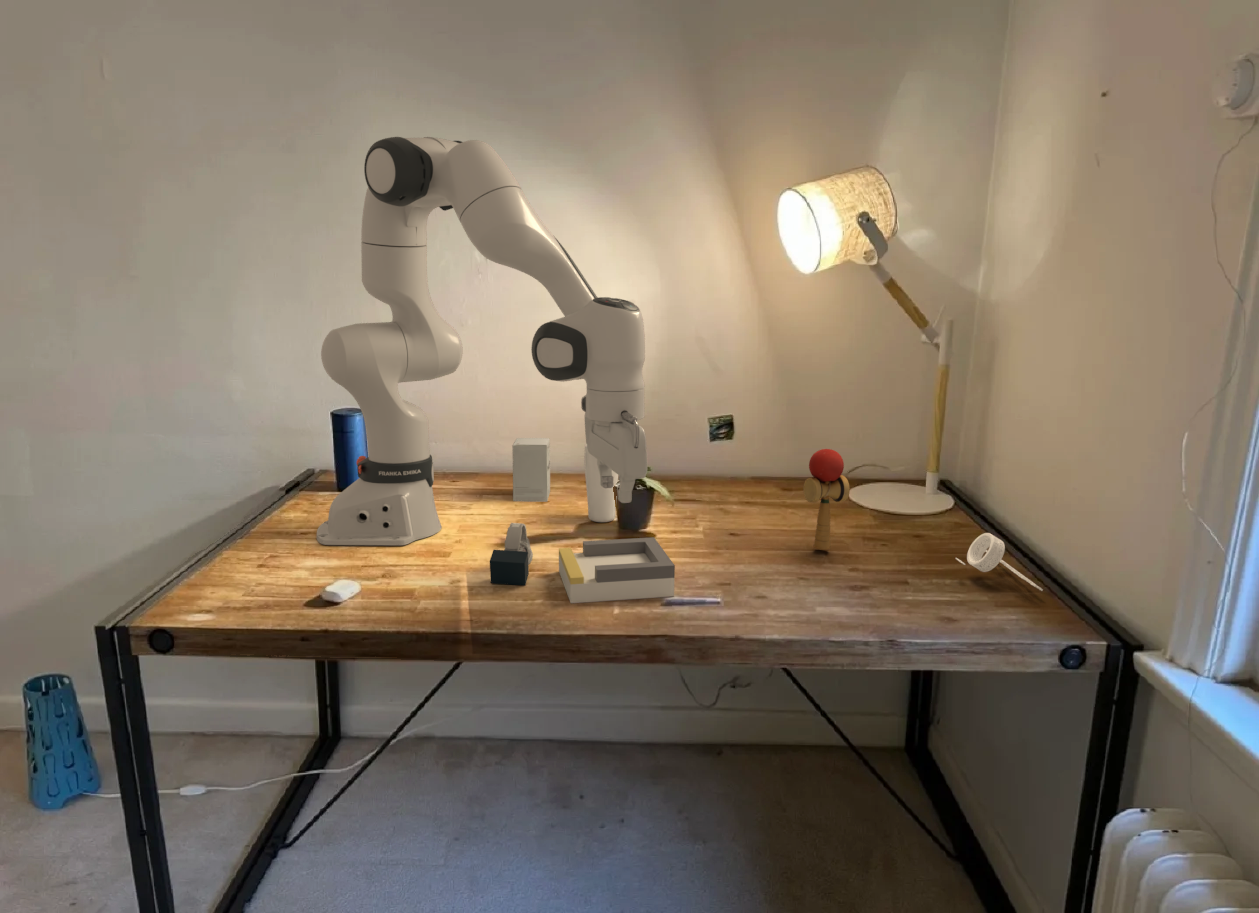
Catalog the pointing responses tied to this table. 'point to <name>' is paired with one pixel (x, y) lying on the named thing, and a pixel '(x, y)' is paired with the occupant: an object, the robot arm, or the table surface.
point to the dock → (612, 587)
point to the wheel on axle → (989, 555)
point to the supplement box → (531, 469)
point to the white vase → (598, 492)
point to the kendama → (825, 490)
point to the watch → (512, 558)
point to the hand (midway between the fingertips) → (615, 494)
